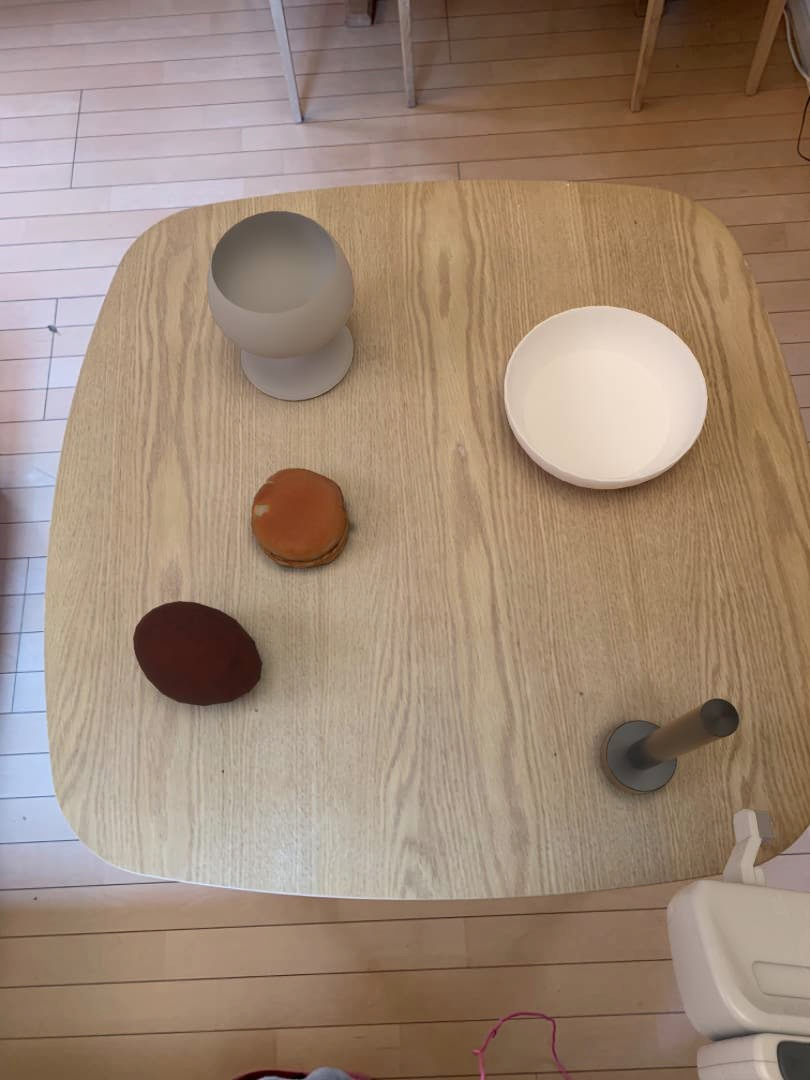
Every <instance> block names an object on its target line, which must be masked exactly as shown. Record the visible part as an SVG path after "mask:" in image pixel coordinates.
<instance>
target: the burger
mask: <svg viewBox="0 0 810 1080" xmlns="http://www.w3.org/2000/svg"><path fill="white" fill-rule="evenodd" d="M250 526H251V530H252V534H253V535H254V537H255V538H256V540H257V543H258V544H259V547H260V549H262V551H263V552H264V554H265V555H267V557H268V558H270V559H271V560H272V561H274V562H275V563H277V564H278V565H280V566H288V567H291V568H299V569H305V568H312V567H317V566H320V565H326V564H329V563H331V562H332V561H334V560H335V559H336V558H337V557H338V556H339V555H340V553H341V552H342V551H343V549H344V547H345V545H346V544H347V541H348V539H349V533H350V519H349V516H348V512H347V509H346V506H345V500H344V495H343V492H342V488H341V487H340V485H339V484H338V483H337V482H336V481H335V480H333V479H331V478H329V477H327V476H326V475H323V474H320V473H318V472H315V471H313V470H310V469H306V468H300V467H293V468H292V467H290V468H284V469H280V470H277V472H275V473H273V474H271V475H270V476H269V477H268V478H267V479H266V482H265V483H264V484H263V485H262V486H260V487H259V489H258V491H256V494H255V495H254V497H253V501H252V506H251V518H250Z"/></svg>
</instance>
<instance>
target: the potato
mask: <svg viewBox="0 0 810 1080" xmlns="http://www.w3.org/2000/svg"><path fill="white" fill-rule="evenodd" d="M132 643H133V651H134V655H135V658H136V660H137V663H138V665H139V668H140V669H141V671H142V673H143V674H144V676H145V678H146V679H147V680H148V682H150V684H151V685H153V686H154V687H155V688H156V689H157V690H158V691H159V692H160V693H161V694H162V695H163V696H165V697H167V698H168V699H170V700H173V701H175V702H177V703H179V704H185V705H193V706H199V707H207V706H213V705H220V704H225V703H226V704H227V703H231V702H233V701H236V700H238V699H239V698H241V697H243V696H245V695H247V694H249V693H250V692H252V690H253V689H254V688H255V686H256V685H257V684H258V683H259V682H260V680H261V678H262V669H263V662H262V658H261V656H260V653H259V650H258V648H257V645H256V644H257V643H256V641H255V640H254V639H253V638H252V636H251V635H250V634H249V633H248V631H246V630H245V628H244V627H243V626H242V625H241V624H240V622H239V621H238V620H237V619H236V618H234V617H232V616H231V615H230V614H228V613H226V612H224V611H222V610H221V609H218V608H216V607H212V606H209V605H207V604H206V605H205V604H203V603H199V602H196V601H184V600H183V601H182V600H177V601H173V602H165V603H163V604H161V605H159V606H156V607H154V608H152V609H151V610H150V611H148V612H147V613H146V614H144V615H143V616H142V617H141V618H140V620H139V621H138V623H137V624H136V626H135V628H134V633H133V637H132Z"/></svg>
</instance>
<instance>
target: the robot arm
mask: <svg viewBox="0 0 810 1080" xmlns="http://www.w3.org/2000/svg"><path fill="white" fill-rule="evenodd" d="M771 823H772V816H771V814H770V812H768V811H766V810H759V809H752V808H747V807H746V808H745V807H744V808H743V807H742V808H741V809H740V810H739V811H737V812H735V813H734V815H733V819H732V824H733V830H734V837H735V845H734V846H733V848H732V850H731V853H730V855H729V857H728V860H727V862H726V865H725V867H724V869H723V871H722V878H723V879H722V880H717V879H708V878H700V879H697V880H694V881H692V882H690V883H688V884H687V885H685V886H683V887H681V888H680V889H678V890H677V891H676V892H675V893H674V895H673V896H672V898H671V899H670V901H669V902H668V905H667V907H666V925H667V926H666V927H667V935H668V941H669V948H670V955H671V960H672V965H673V971H674V976H675V981H676V987H677V990H678V994H679V998H680V1001H681V1005H682V1008H683V1010H684V1014H685V1015H686V1017H687V1019H688V1021H689V1022H690V1024H691V1025H692V1027H693V1028H694V1030H696V1031H697V1032H698V1033H699V1034H700V1035H702V1037H704V1038H705V1039H707V1040H709V1041H710V1042H709V1043H705V1044H702V1045H701V1046H699V1048H698V1050H697V1052H696V1068H697V1074H698V1078H699V1080H810V891H805V890H796V889H788V888H779V887H771V886H767V881H766V880H767V879H766V876H765V870H764V868H763V867H761V866H754V864H755V862H756V859H757V856H758V853H759V849H760V848H762V847H764V846H766V844H770V843H771V842H773V841H775V840H776V838H775V831H774V828H773V826H772V825H771ZM711 1041H712V1042H711Z"/></svg>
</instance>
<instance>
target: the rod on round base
mask: <svg viewBox="0 0 810 1080" xmlns="http://www.w3.org/2000/svg"><path fill="white" fill-rule="evenodd" d="M739 724H740V715H739V712H738V710H737V709H736V707H735V706H734V705H733V704H732V703H731V702H730V701H729V700H726V699H723V698H711V699H708V700H707V701H705V702H704V703H702V704H700V705H698V706H697V707H695V708H693V709H691V710H689V711H688V712H686V713H684V714H683V715H680V716H679V717H677V718H676V719H674V720H671V721H670V722H668V723H666V724H665V725H663V726H661V727H660V726H659V725H657V724H655V723H653V722H650V721H646V720H643V719H641V720H639V719H638V720H635V719H634V720H630V721H629V720H628V721H626V722H624V723H622V724H621V725H619V726H618V727H616V728H614V729H613V730H612V731H610V732H609V733H608V734H607V736H606V737H605V738H604V740H603V742H602V745H601V746H600V747H601V748H600V752H599V759H600V766H601V770H602V772H603V774H604V776H605V777H606V779H607V780H608V781H609V783H610V784H612V785H613V786H614V787H615V788H617V790H619V791H622V792H624V793H627V794H631V795H644V794H649V793H651V792H654V791H657V790H660V789H661V788H663V787H665V786H666V785H667V784H668V783H669V782H670V781H671V779H672V778H673V777H674V775H675V772H676V769H677V763H678V757H681V756H684V755H685V754H688V753H691V752H693V751H695V750H698V749H701V748H702V747H705V746H707V745H710V744H712V743H716V742H717V741H720V740H722V739H725V738H727V737H730V736H732V735H733V734H734V733H735V732H736V731H737V730H738V728H739Z"/></svg>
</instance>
